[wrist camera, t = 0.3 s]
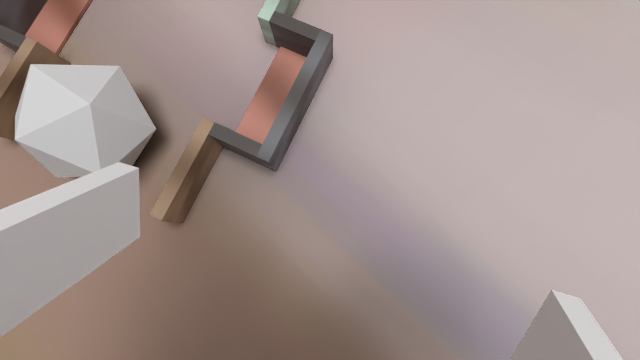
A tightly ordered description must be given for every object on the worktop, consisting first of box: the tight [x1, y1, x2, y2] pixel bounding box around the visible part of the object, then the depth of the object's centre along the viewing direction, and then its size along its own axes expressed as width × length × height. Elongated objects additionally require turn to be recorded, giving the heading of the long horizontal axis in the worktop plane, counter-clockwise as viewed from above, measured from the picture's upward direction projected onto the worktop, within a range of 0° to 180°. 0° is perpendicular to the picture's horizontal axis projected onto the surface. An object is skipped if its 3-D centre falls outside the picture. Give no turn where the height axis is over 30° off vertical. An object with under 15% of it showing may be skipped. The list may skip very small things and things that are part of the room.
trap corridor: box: [0, 0, 333, 223], centre depth 28 cm, size 27×27×4 cm
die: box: [15, 64, 156, 177], centre depth 25 cm, size 8×9×10 cm
